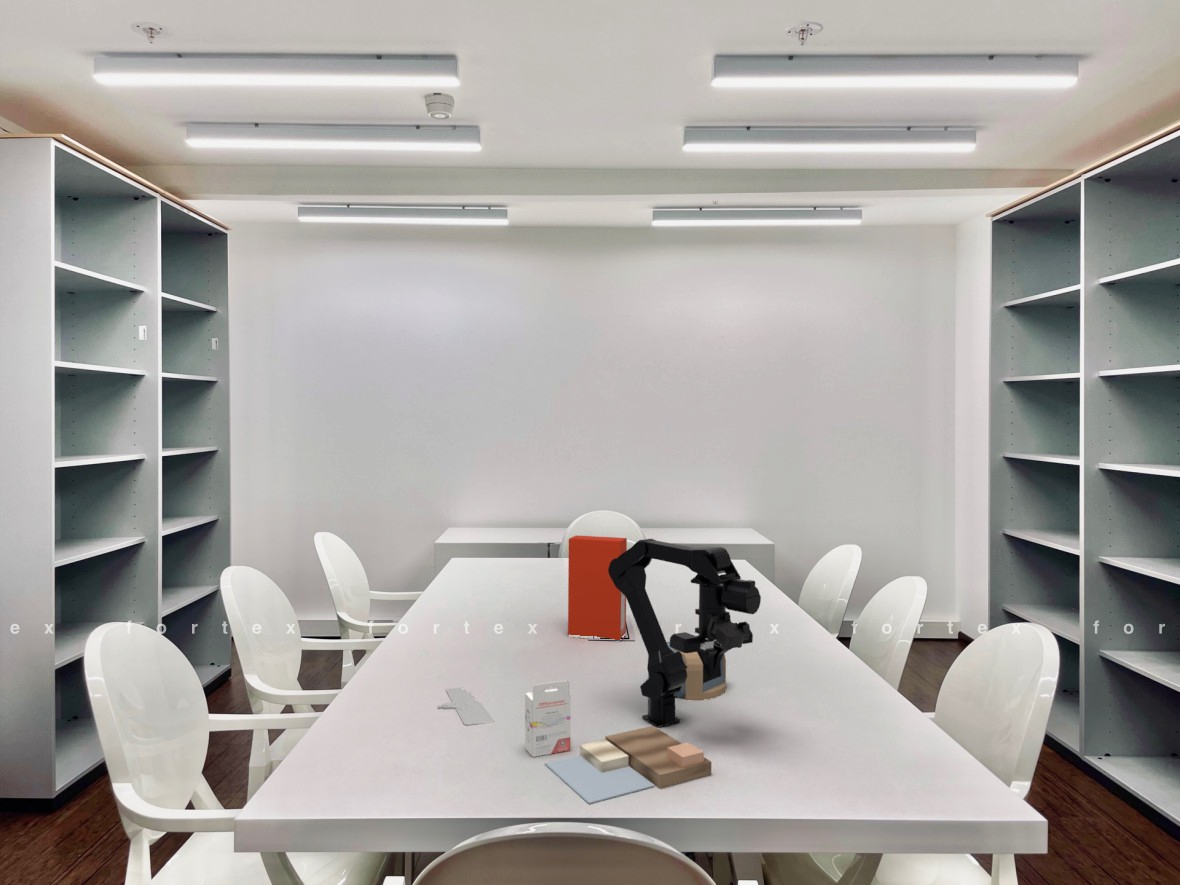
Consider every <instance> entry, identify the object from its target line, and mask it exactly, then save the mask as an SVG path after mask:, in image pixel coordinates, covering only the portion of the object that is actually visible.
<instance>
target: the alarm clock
mask: <svg viewBox="0 0 1180 885" xmlns="http://www.w3.org/2000/svg"><path fill="white" fill-rule="evenodd" d="M666 642H667V645H668V647H669V648H670V649H671V650H672V651H673V652H674V653H675V652H678V650H676V649H674V648H671V647H670V641H666ZM680 653H681V654H682V658H683V661H684V663H685V665H686V666H687V668H686V671H687V678H686V682H685V683H684V685H682V688H681V691H680V692H676V693H674V696H677V697H676V698H681V697H685V698H684V699H685V701H687V700H694V701H705V700H704V699H707V700H712V699H711V698H713V699H715V698H714V697H716V698H718V697H721V696H722V695H724V694H725V692H724V691H726V690H725V689H726V688H727V687H726V686H727V685H726V683H727V682H726V679H727V674H726V673H727V672H726V671H727V660H726V655H725V654H724V655H723V657H722V659H721V661H720V664H719V667H718V669H717V672H716V675H715V677H714V678H712V679H711V678H709V677H708V675H707V673H706V670H705V668H704V666H703V663H702V661H701V659H700V657H699V655H698V653H697V652H692V653H683V652H681V651H680ZM647 676H648V677H647V679H648V678H649V674H648V675H647ZM723 693H724V694H723ZM721 694H722V695H721ZM717 696H718V697H717Z"/></svg>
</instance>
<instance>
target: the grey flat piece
mask: <svg viewBox="0 0 1180 885" xmlns="http://www.w3.org/2000/svg"><path fill="white" fill-rule="evenodd" d="M461 688H462V687H453V688H446V689H445V692H446V694H448V697H449V699H450V700H451V702H446V703H445V702H444V703H442V704H441V705H438V706H437V710H440V709H441V710H456V712H457V714H458V716H459V717H460V720H461V721H462V724H463V725H464V726H472V725H474V726H475V725H482V724H489V723H496V721H495V720H494V718H493V717H492V716H491V715H490V713H489V712H488V711H487V709H486V708H485V707H484V705H483V704H482V703H481V702H480V701H479V702H478V701H476V700H475V697H474V696H472V695H471V692H469V693H468V692H467V691H466V690H465V689H464V690H462V689H461ZM467 693H468V694H467ZM473 698H474V699H473ZM477 700H479V699H478V698H477Z"/></svg>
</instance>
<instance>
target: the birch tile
mask: <svg viewBox="0 0 1180 885" xmlns="http://www.w3.org/2000/svg"><path fill="white" fill-rule="evenodd" d="M579 755H581V756H582V757H583V758H584V759H586V760H587V761H588V762H589V763H591V764H592V765H593V766H595V767H596V768H597V769H598V770H600V771H601V772H606V771H610V770H614V769H619V768H623V767H627V766H629V765H628V761H629V756H628V755H627V754H625V753H624V752H622V751H621V750H620V749H618V748H617V747H615V746H614V745H613V744H611V743H610V742H608V741H607V740H606V739H605V738H604V739H601V740H597V741H592V742H588V743H587V742H586V743H583V744H580V745H579Z"/></svg>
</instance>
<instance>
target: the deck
mask: <svg viewBox="0 0 1180 885" xmlns="http://www.w3.org/2000/svg"><path fill="white" fill-rule="evenodd" d="M605 739H606V740H607V741H608V742H610V743H611V744H613V745H614V746H615V747H617V748H618V749H620V750H621V751H622V752H624V753H625V754H627V755H628V756H629V761H628V766H629V767H631V768H632V769H633V770H635V771H636V772H637V773H639V774H640V775H642V776H643V777H644V778H646V779H647V780H648V781H650V782H651V783H652V784H654V785H655V786H656V787H658V789H663V788H667V787H671V786H674V785H675V786H676V785H677V784H681V783H685V782H686V783H687V782H689V781H693V780H696V779H699V778H700V779H701V778H704V777H707V776H711V775H712V761H711V760H709V759H707V758H706V757H705V756H704V762H703V763H699V764H695V765H691V766H687V767H684V768H682V767H681V766H679V765H678V764H676V763H675V762H673V761H672V760H670V759H669V758H667V747H671V746H676V745H680V744H683V743H682V742H680V741H678V740H677V739H675V738H673V737H672V736H671V735H669V734H667V733H666V732H664V731H662V730H661V729H659V728H658V727H656V726H655V725H651V726H647V727H646V726H645V727H643V728H638V729H632V730H628V731H622V732H618V733H614V734H610V735H606V736H604V740H605Z"/></svg>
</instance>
